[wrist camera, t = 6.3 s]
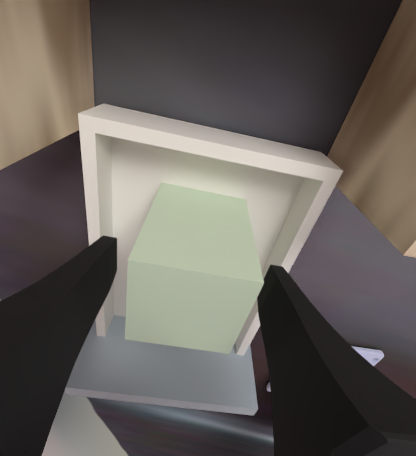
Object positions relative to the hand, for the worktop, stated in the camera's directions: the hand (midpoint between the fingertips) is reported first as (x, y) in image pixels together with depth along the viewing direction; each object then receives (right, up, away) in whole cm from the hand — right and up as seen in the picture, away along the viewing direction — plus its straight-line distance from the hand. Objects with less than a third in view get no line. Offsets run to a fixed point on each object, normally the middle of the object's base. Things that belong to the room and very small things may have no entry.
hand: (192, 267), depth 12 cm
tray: (0, +1, +5) cm, 5 cm away
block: (0, +2, +3) cm, 3 cm away
